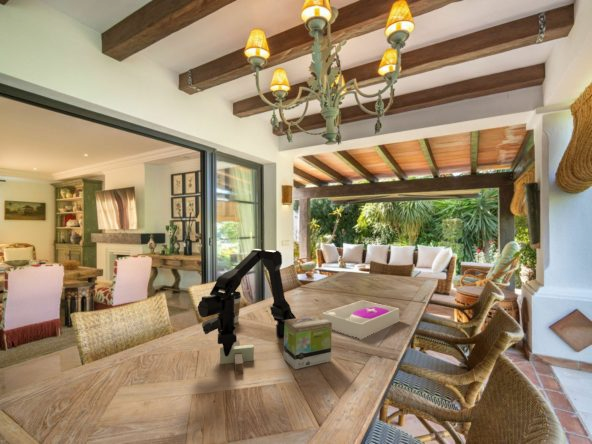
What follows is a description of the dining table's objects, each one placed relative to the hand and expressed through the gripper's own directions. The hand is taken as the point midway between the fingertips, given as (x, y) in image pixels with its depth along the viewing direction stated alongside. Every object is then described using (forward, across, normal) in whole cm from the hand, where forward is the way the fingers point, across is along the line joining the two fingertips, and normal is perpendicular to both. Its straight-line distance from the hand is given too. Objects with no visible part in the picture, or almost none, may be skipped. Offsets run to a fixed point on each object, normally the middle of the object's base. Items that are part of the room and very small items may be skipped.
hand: (226, 353), depth 108 cm
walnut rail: (+3, 0, +4) cm, 5 cm away
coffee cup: (+3, -44, +4) cm, 44 cm away
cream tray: (+4, -26, +67) cm, 72 cm away
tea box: (+3, +6, +29) cm, 30 cm away
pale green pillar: (+3, 0, +4) cm, 5 cm away
